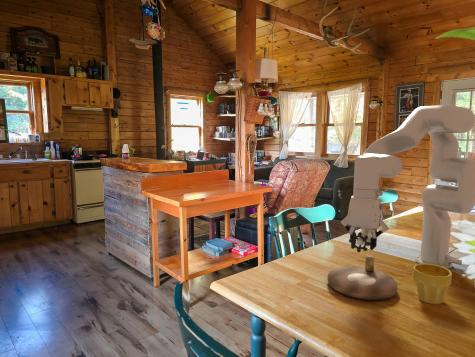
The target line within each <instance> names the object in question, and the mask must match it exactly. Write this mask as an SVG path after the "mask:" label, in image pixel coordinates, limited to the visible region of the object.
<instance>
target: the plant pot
mask: <svg viewBox="0 0 475 357" xmlns="http://www.w3.org/2000/svg"><path fill="white" fill-rule="evenodd" d="M412 273H413V278H414V280H415V283H416V284H415V285H416V289H417V290H416V291H417V296H418V299H419V300H420V301H422V302H423V303H427V304H431V305H441V304H442V303H444V300H445V297H446V295H447V291H448V288H449V286H451V285H452V278H453V272H452V271H451V270H450V269H446V268H444V267H441V266H438V265H433V264H419V263H417V264H415V265H414V266H413V271H412Z"/></svg>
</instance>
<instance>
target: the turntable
mask: <svg viewBox="0 0 475 357" xmlns="http://www.w3.org/2000/svg"><path fill="white" fill-rule="evenodd" d="M364 263H365V264H364V266H354V265H353V266H350V265H349V266H348V265H347V266H339V267H335V268H333V269H331V270H330V271H329V272H328V274H327V283H328V285H329V286H330V288H332V289H334V290H335V291H336V292H339V293H340V294H343V295H345V296H348V297H352V298H357V299H362V300H370V301H371V300H374V301H377V300H385V299H390V298H391V297H394V296H395V295H397V293H398V283H397V281H396V279H394V278H393V277H392V276H390V275H389V274H387V273H385V272H382V271H380V270H376V269H375V256H374V255H371V254H367V255H365V261H364Z"/></svg>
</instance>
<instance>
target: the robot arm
mask: <svg viewBox="0 0 475 357" xmlns="http://www.w3.org/2000/svg"><path fill="white" fill-rule="evenodd" d="M474 126H475V113H474V112H473V110H471V109H470V108H466V107H461V106H457V105H452V104H436V105H435V104H433V105H424V106H418V107H417V108H415V109H414V110H413V111H412V112H411V113H410V114H409V115H408V116H407V117H406V118H405V120H404V121H403V122H402V123H401V124H400V125H399V126H398V127H397V129H396V130H394V131H392V132H391V133H388V134H386V135H384V136H383V137H381V138H379V139H377V140H375V141H373V142H372V143H371V144H370V145H369V146H368V147H366V149H365V150H364V151H363V153H361V155H358V156H356V157H355V158H354V167H353V168H354V172H353V191H352V192H353V193H352V195H351V197H350V200H349V205H348V211H347V215H346V216H345V217H344V218H343V219H342V220H341V221H340V223H341V225H342V226H343V227H344V229H346V231H347V232H348V234H349V239H353V237H352V234H353V233H354V234H355V235H356V236H357V233H356V230H357V228H358V229H359V228H360V229H361V228H365V229H370V231H371V234H372V238H371V239H370V243H371V244H370V246H369V250H370V251H374V250H375V248H377V244H378V242H377V241H378V237H380V236H381V235H383V234H384V233H385V232H388V231H389V227H388V226H387V224H386V223H385V222H384V220H383V212H382V209H383V208H382V201H381V198H380V197H381V196H383V195H384V192H383V191H381V190H380V188H379V181H380V180H379V179H380V178H388V179H391V178H395V177H397V176H398V175H400V174H401V172H402V170H403V162H402V159H400V157H398V156H396V155H393V154H397V153H401V152H405V151H409V150H412V149H414V148H416V147H417V146H418V145H419V144H420V142H421V141H423V140H422V139H423V138H424V137H426V135H427V134H428V135H429V137H430V138H431V142H432V152H431V160H430V164H429V165H430V166H429V167H430V168H429V176H430V178H431V179H432V180H435V181H437V182H438V181H439V182H444V183H451V184H457V186H451V185H443V184H438V183H437V184H429V185H426V186H425V187H424V188H423V189H422V191H421V202H422V212H423V213H422V216H423V217H422V227H421V228H422V230H421V243H420V255H417V256H415V262H416V263H417V264H433V265H438V266H441V267H444V268H446V269H448V270H450V269H451V268H453V264H455V265H459V266H462V264H463V259H459V257H455V256H454V257H453V256H451V252H450V239H451V231H452V230H451V227H452V220H451V217H450V215H449V213H455V214H461V215H462V214H463V215H466V214H467V215H468V214H469V213H471V212H472V211H473V209H474V207H475V160H474V159H472V158H468V157H467V158H466V157H459V148H460V147H459V146H460V144H459V140H458V139H457V137H456V136H455V134H465V133H468V132H470V131H471V130H472V129H473V128H474ZM448 212H449V213H448ZM379 227H381V229H379ZM378 229H379V230H378ZM354 243H355V245H357V239H355V240H354ZM352 245H353V244H352V243H350V247H351V246H352Z"/></svg>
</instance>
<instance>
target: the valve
mask: <svg viewBox="0 0 475 357" xmlns="http://www.w3.org/2000/svg"><path fill="white" fill-rule="evenodd" d="M352 237H353V239H350V238H349V240H348V242H349V243H350V244H351V243H352V244H353V245H352V246H351V245H350V248H351V249H352V250H354V249H357V250H356V252H357V253H361V251H362V250H363V251H364V252H367V251H368V248H367V247H370V244H371V243H370V239H371V238H372V234H371V231H370V229H365V228H360V231H359V232H357V234H356V235H355V234H354V233H353V234H352ZM355 239H356V244H355V243H354V240H355Z"/></svg>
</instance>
